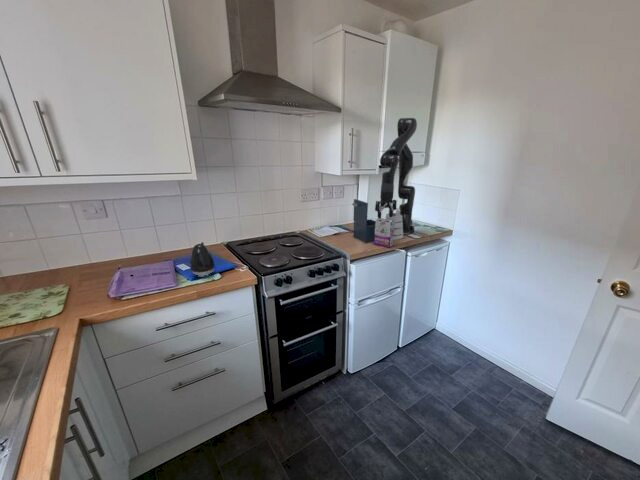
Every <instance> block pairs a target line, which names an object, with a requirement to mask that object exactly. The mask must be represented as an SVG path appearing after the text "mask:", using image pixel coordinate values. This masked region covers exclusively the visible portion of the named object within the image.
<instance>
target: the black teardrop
mask: <svg viewBox="0 0 640 480" xmlns="http://www.w3.org/2000/svg"><path fill="white" fill-rule="evenodd" d="M189 260H190V261H189V266H190V271H191V272H192V273H193V275H194V274H195V275H194V276H196V275H198V276H197V277H199V278H205V277H206V278H207V277H209V276H210V275H212V274H213V273H214V270H215V268H216V263H215V261H214V258H213V256H212V253H211V252H210V250H209V248H208V247H207V246H206V245H205V243H204V242H203V241H202V242H201V243H197V244H195V245H194V246H193V247H192V249H191V253H190V259H189ZM212 272H213V273H212ZM210 273H212V274H210ZM208 274H210V275H208ZM204 275H207V276H204Z"/></svg>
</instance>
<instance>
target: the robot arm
mask: <svg viewBox="0 0 640 480" xmlns="http://www.w3.org/2000/svg"><path fill="white" fill-rule="evenodd" d="M396 127H397V137H396V138H395V139H394V140H393V141H392V143H391V145H390V146H389V148H387V150H386V151H384V152H383V154H381V156H380V159H379V164H380V166H381V167H382V168H388V169H389V170H388V171H384V172H382V175H381V184H380V198H379V199H380V200H375V206H374V211H375V212H377V219H378V218H382V212H383V210H384V209H388V210H389V209H390V213H389V212H388V214H389V217H392V216H393V213H394V211H396V208H397V201H398V200H396V199H394V190H395V185H394V184H395V175H396V172H397V169H398V184H397V186H398V188H397V195H398V196H397V197H398V198H399V199H400V200H405V201H406V202H404V203H401V204H399V207H398V208H399V209H400V215H402V222H403V235H410V234H412V233H414V232H415V226H414V225H413V219H412V218H413V207H414V202H415V196H416V187H415V186H413V185H406V180H407V177H408V175H409V174H410V172H411V171H412V169H413V167H414V155H413V152H412V150H411V148H410V147H409V144H407V143H408V142H409V141H410V140H411V138H412V137H413V136H414V135H415V133H416V131H417V129H418V128H417V127H418V121H417V119H416V118H415V117H400V118H399V119H398V121H397V124H396Z"/></svg>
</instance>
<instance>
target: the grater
mask: <svg viewBox="0 0 640 480" xmlns="http://www.w3.org/2000/svg"><path fill="white" fill-rule="evenodd" d="M389 213H390V209H389V208H388V213H386V215H385V219H388V220H395V222H394V235H393V241H396V240H401V239H404V234H403V222H402V215H400V209H399V207H396V210H395V212H393V216H392V217H389Z"/></svg>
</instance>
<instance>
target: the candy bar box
mask: <svg viewBox="0 0 640 480" xmlns="http://www.w3.org/2000/svg"><path fill="white" fill-rule="evenodd" d="M374 221H375V236H374V242H373V245H375V246H380V247H385V248H391V247H393V246H394V240H393V236H395V235H394V222H395V220H392V219H391V220H388V219H386V218H382V217H381V218H378V217H377V218H375V220H374Z"/></svg>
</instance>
